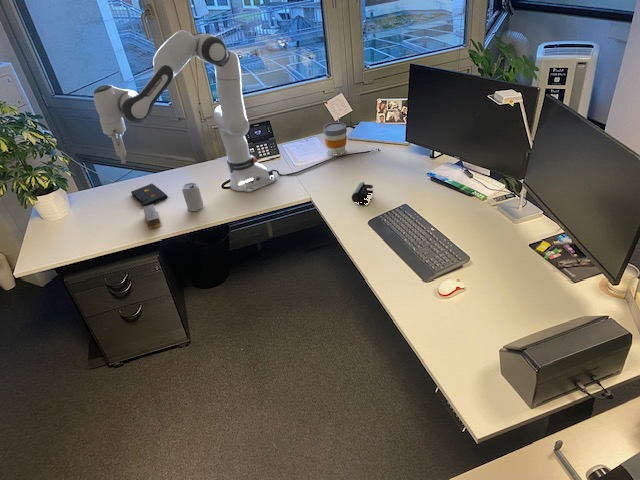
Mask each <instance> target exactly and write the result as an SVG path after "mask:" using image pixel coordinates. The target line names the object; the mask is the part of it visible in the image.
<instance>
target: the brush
mask: <svg viewBox="0 0 640 480" xmlns="http://www.w3.org/2000/svg"><path fill="white" fill-rule="evenodd" d="M154 204H155V203H154ZM154 204H152V205H149V206H146V207H145V206H143V207H142V210H143V213H144V216H145V219H146V222H147V225H148V227H149V228H150V230H153V229H156V228H159V227H161V221H160V218H159V216H158V213H157V210H156V207H155V205H154Z"/></svg>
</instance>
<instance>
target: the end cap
mask: <svg viewBox="0 0 640 480" xmlns="http://www.w3.org/2000/svg"><path fill="white" fill-rule="evenodd" d="M373 188H374V185H373V184H367V183H365V181H362V182H360V183H359V184H358V185H357V186H356V188H355V189H354V191H353V193H352V195H351V201H352V202H353V203H354V202H357V203H358V202H359V205H358V204H356V205H357V206H362V207H368V206H369V204H368V205H367V206H366V205H365V204H366V203H368V201H367V200H364V198H365V199H366V198H367V195H371V194H368V193H373V194H374V190H373ZM367 199H368V198H367ZM370 200H371V201H372V199H370ZM360 202H362V203H360ZM364 203H365V204H364Z"/></svg>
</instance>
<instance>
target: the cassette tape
mask: <svg viewBox="0 0 640 480" xmlns="http://www.w3.org/2000/svg"><path fill="white" fill-rule="evenodd" d="M130 193H131V195H132V197H133V198H135V199H136V200H137V201H138V202H139V203H140V204H141V205H143V207H146V206H149V205H153V204H156V203H158V202H161V201H164V200H165V199H168V195H167V194H166V193H165V192H164V191H163V190H161V189H160V188H159V187H158V186H156V185H155V184H154V183H150V184H147V185H145V186H142V187H140V188H136V189H134V190H132V191H130Z"/></svg>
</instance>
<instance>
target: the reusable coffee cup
mask: <svg viewBox="0 0 640 480" xmlns="http://www.w3.org/2000/svg"><path fill="white" fill-rule="evenodd" d="M347 129H348V128H347V125H346V124H345V123H344V122H340V121H339V122H338V121H335V122H329V123H326V124H325V125H324V126H323V131H322V132H323V134H324V137H323V138H324V142H325V145H326V147H327V153H328V155H329V156H331V157H337V156H341V155H345V154H346V145H347V137H348V135H347V132H348V130H347ZM343 152H344V153H343ZM341 153H342V154H341ZM333 154H334V155H333ZM335 154H337V155H335Z"/></svg>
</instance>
